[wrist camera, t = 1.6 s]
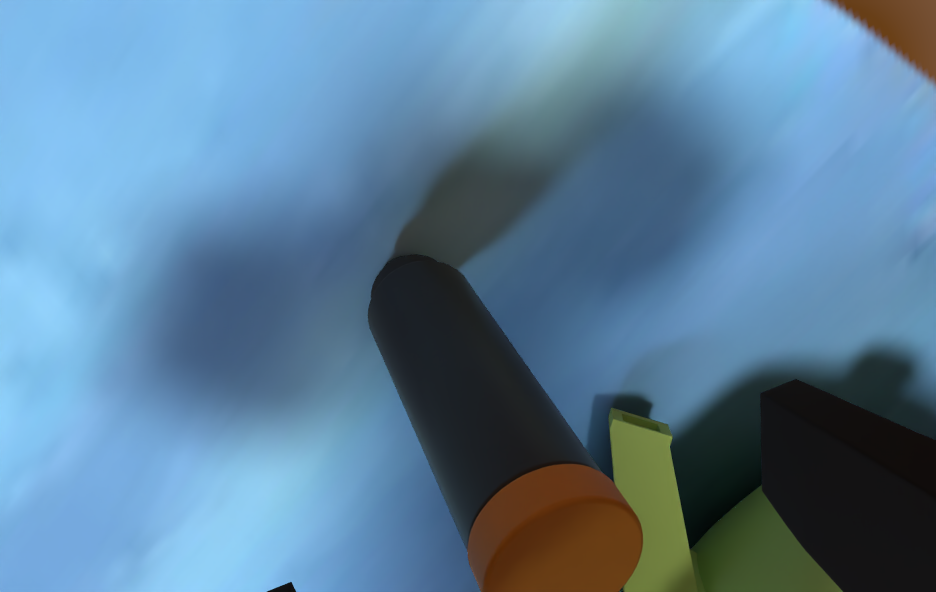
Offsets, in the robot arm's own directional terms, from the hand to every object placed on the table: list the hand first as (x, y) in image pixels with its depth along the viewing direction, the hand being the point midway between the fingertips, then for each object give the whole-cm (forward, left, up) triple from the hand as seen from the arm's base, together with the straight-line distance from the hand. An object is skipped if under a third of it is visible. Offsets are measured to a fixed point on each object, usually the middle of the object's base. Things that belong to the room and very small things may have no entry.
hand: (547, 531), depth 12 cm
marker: (0, 0, -8) cm, 8 cm away
